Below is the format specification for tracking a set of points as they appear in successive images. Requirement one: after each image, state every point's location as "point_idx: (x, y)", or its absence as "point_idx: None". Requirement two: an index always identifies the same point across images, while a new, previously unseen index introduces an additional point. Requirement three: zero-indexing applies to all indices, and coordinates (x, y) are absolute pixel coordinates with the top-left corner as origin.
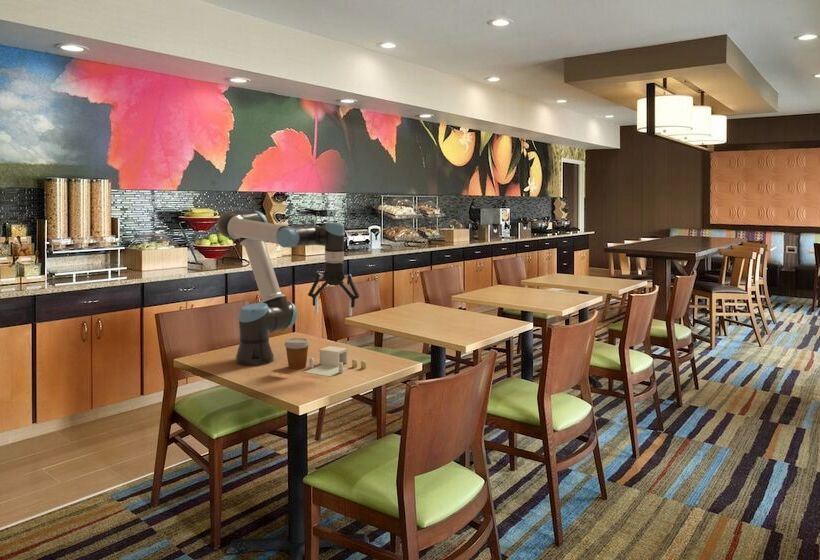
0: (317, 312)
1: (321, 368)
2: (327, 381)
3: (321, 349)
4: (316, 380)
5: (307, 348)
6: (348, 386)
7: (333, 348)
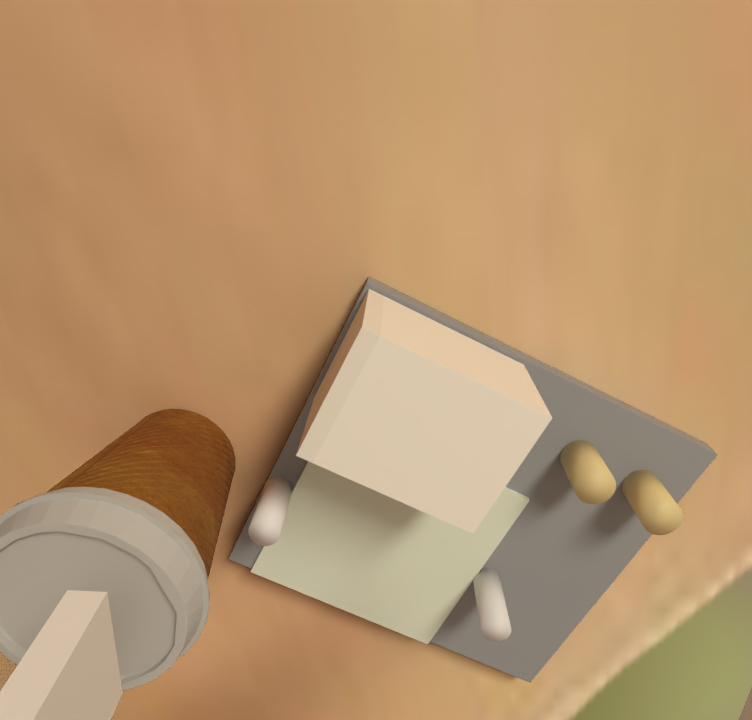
0: (103, 684)
1: (348, 505)
2: (414, 643)
3: (312, 457)
4: (349, 629)
5: (207, 573)
6: (534, 710)
7: (418, 420)
